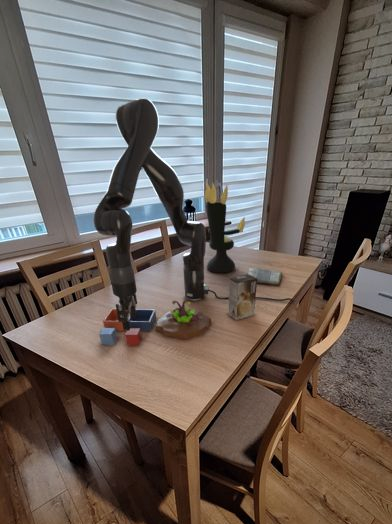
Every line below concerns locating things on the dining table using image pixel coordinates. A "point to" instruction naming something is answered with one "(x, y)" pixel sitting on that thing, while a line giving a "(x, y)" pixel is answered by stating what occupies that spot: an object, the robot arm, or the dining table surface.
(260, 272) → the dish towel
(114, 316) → the terracotta bin
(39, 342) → the dining table surface
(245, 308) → the coffee box
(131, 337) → the brick block
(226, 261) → the candelabra
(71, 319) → the dining table surface
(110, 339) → the blue block
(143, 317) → the slate bin
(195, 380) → the dining table surface
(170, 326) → the plant
